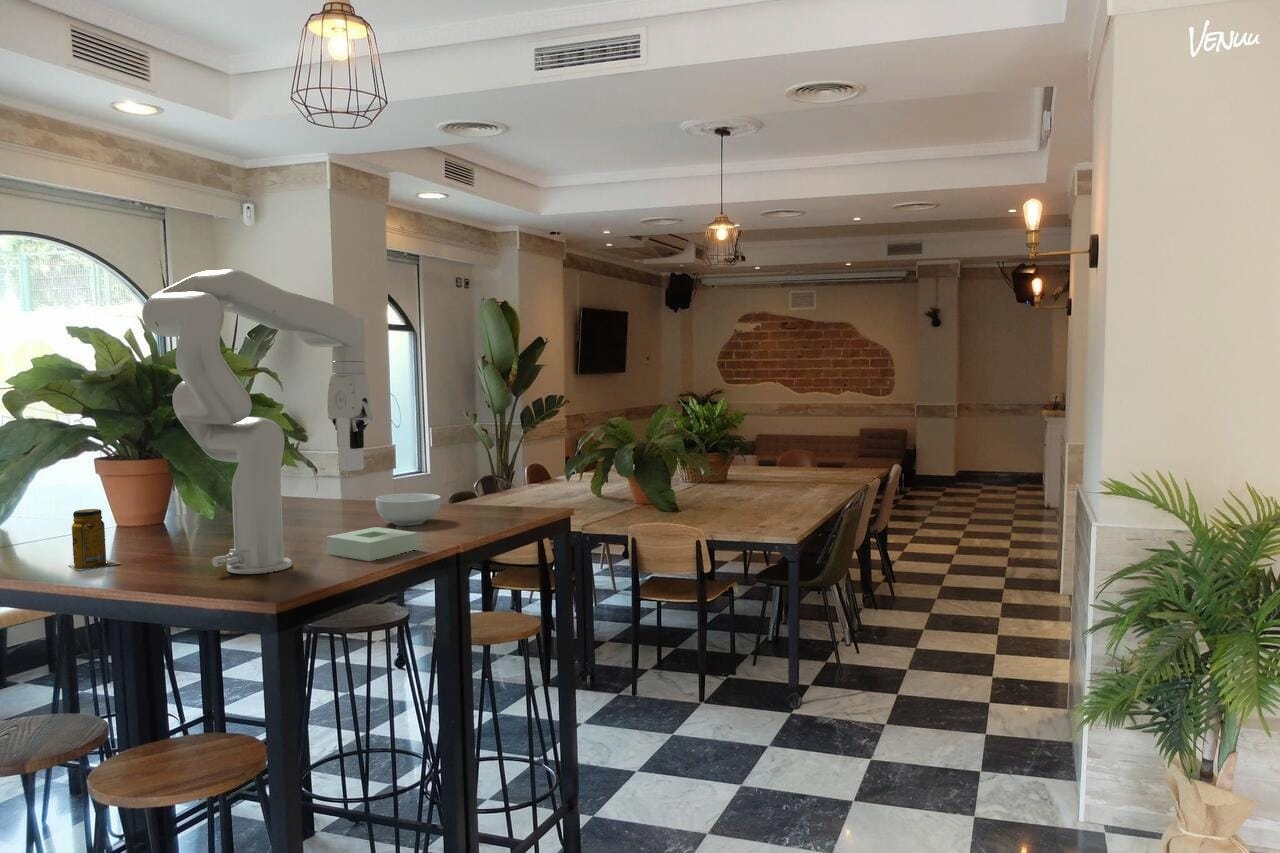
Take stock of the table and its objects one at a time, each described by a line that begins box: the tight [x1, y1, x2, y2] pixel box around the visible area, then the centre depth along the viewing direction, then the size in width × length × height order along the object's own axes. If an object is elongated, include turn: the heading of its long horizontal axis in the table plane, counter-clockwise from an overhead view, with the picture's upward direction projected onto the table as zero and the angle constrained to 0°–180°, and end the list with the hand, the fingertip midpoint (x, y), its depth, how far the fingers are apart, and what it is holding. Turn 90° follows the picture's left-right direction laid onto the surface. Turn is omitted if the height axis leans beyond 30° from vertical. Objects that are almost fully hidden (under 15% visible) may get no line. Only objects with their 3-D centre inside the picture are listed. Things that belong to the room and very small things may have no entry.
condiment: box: [68, 508, 122, 571], centre depth 204 cm, size 7×8×12 cm
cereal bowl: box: [375, 492, 442, 526], centre depth 254 cm, size 17×17×7 cm
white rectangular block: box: [337, 415, 365, 472], centre depth 224 cm, size 4×4×14 cm
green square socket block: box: [326, 526, 419, 562], centre depth 216 cm, size 14×14×4 cm
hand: (350, 447), depth 224 cm, fingers closed on white rectangular block, 4 cm apart
